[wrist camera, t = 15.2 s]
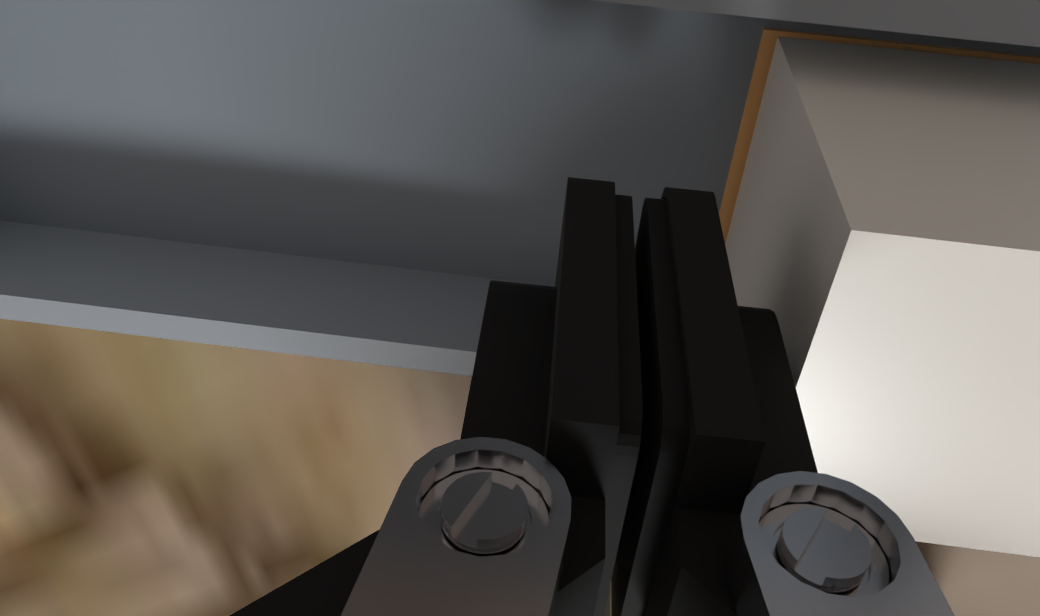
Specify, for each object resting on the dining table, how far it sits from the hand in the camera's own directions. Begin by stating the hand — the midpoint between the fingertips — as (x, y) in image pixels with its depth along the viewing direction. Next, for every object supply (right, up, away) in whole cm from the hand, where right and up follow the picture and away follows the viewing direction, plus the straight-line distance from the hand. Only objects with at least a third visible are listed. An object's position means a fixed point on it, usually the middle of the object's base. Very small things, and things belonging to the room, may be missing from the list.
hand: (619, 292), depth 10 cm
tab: (+4, +2, +2) cm, 5 cm away
